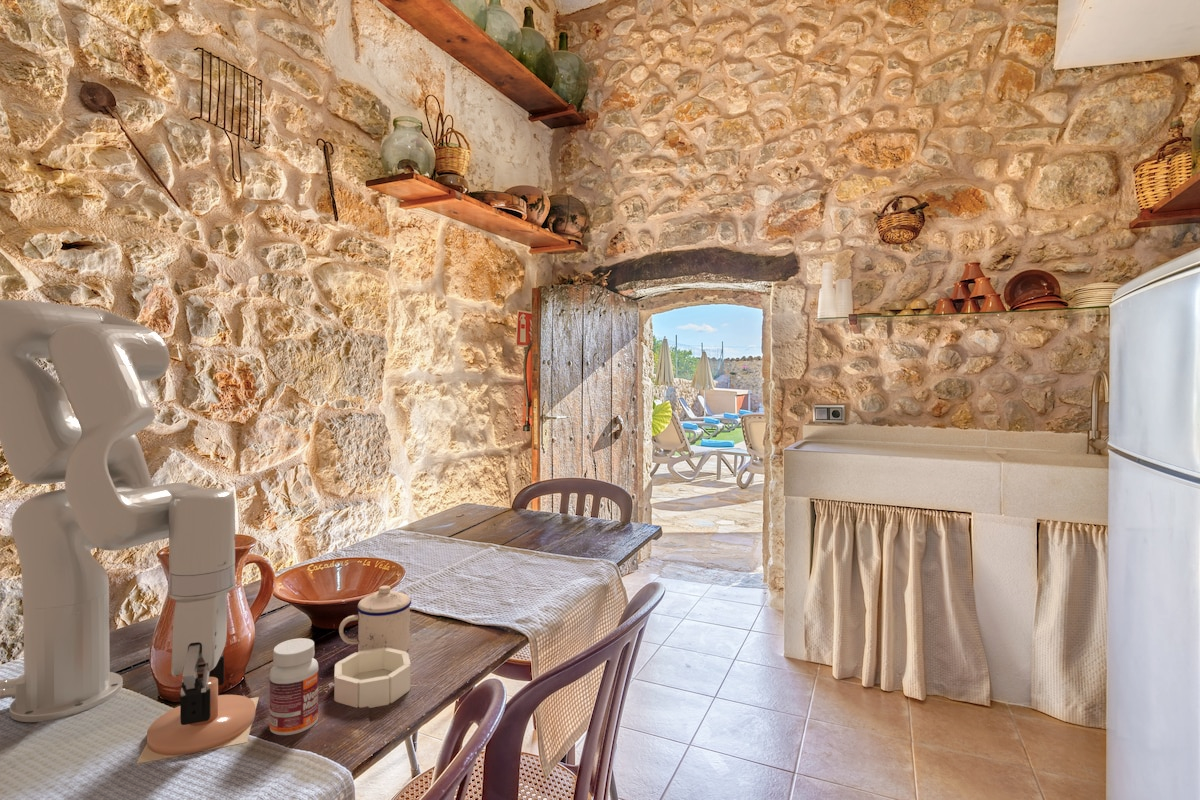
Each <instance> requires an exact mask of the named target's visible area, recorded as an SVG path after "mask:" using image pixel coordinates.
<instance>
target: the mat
mask: <svg viewBox="0 0 1200 800" xmlns="http://www.w3.org/2000/svg"><path fill="white" fill-rule="evenodd" d="M248 698H249V697H248ZM259 698H260V696H255V697H250V698H249V699H251V700H252V701H253V702H254V703H255V711H256V709H257V707H258V703H259ZM165 713H166V712H162V714H161V716H162V715H163V714H165ZM252 726H253V723H252V724H251V725H250V727H249V728H248V729H246V730H245V731H244V732H243V733H241V734H240V735H239V736H237V737H235V738H234V739H232V740H230V741H228V742H226V743H224V744H222V745H219V746H217V747H214V748H211V749H208V750H205V751H210V750H214V749H215V750H216V749H221V748H226V747H230V746H236V745H241V744H246V743H248V740H249V736H250V733H251V730H252V729H251V728H252ZM205 751H204V752H205ZM178 756H179V757H180V756H181V755H162V754H158V753H155V752H153V751H151V750H150V749H149V748H148V746H147V743H146V744H145V745H144V748H143V750H142V751H141V754H140V755H139V757H138V759H137V760H136V763H138V764H143V763H147V762H153V761H158V760H163V759H168V758H169V759H170V758H175V757H178ZM138 764H137V765H138Z"/></svg>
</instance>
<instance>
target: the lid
mask: <svg viewBox="0 0 1200 800" xmlns="http://www.w3.org/2000/svg"><path fill="white" fill-rule="evenodd" d="M200 680H201V682H202V678H200ZM207 689H210V702H211V716H210V719H209V720H208V721H203V722H198V723H192V724H187V725H182V724H181V718H180V705H178V706H176V707H174V708H172V709H170V710H167V711H166V712H164V713H165V714H163V713H162V714H163V715H162V714H161V715H160V716H159V717H158V718H156V719H155V720H154V721H153V722H152V723H151V725H149V727H148V729H147V731H146V744H147V746H148V748H149V749H150V750H151V751H153V752H155V753H158V754H162V755H180V756H183V755H191V754H196V753H201V752H205V750H206V751H209V750H208V749H211V748H214V747H217V746H219V745H222V744H224V743H226V742H228V741H230V740H232V739H234V738H235V737H237V736H239V735H240V734H241V733H243V732H244V731H245V730H246V729H248V728H249V727H250V725H251V724H252V725H253V723H254V721H255V718H256V710H255V703H254V702H253V701H252V700H251V699H249V697H247V696H245V695H239V694H238V695H237V694H219V685H218V679H217V678H216V677H209V680H208V688H207ZM252 725H251V726H252ZM211 750H212V749H211Z"/></svg>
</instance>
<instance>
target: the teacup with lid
mask: <svg viewBox="0 0 1200 800" xmlns="http://www.w3.org/2000/svg"><path fill="white" fill-rule="evenodd" d="M411 605H412V600H411V598H410V596H409V595H407V594H406V593H404V592H400V591H399V592H398V591H396V590H392V589H391V587H390V585H381V586H379V588H378V591H376V592H374V593H372V594H369V595H366V596H364V598H361V599H360V600H359V602H358V604H357V607H356V610H357V611H358V614H352V615H348V616H347V617H345V618H343V620H342V621H341V622H340V624H339V627H338V633H339V636H340V638H341V640H342V641H343V642H344V643H346V644H347V645H357V647H358V648H357V649H358V650H357V652H358V651H364V650H370V649H377V648H383V647H385V648H387V647H388V648H392V649H396V650H401V651H405V652H407V653H408V650H409V649H410V621H411V620H410V617H411V616H410V613H411V611H410V610H411V609H410V608H411V607H410V606H411ZM355 621H358V627H357V628H358V629H357V631H358V632H357V633H358V634H357V635H358V636H357V637H356V638H350V637H347V636H346V634H345V633H344V630H345V629H344V628H345V626H346V625H347V624H348V623H351V622H355Z"/></svg>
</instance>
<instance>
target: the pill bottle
mask: <svg viewBox="0 0 1200 800" xmlns="http://www.w3.org/2000/svg"><path fill="white" fill-rule="evenodd" d="M315 653H316V652H315V641H314V640H313V639H310V638H307V637H306V638H305V637H304V638H303V637H301V638H292V639H288V640H285V641H282V642H280V643H278V644H277V645H275V646H274V648H273V653H272V655H273V657H272V662H273V666H272V667H271V668H270V671H269V675H268V678H269V730H270V732H271V733H272V734H274V735H278V736H293V735H296V734H300V733H302V732H304V731H306V730H308V729H310V728H312V727H313V726H314V725H315V724H316V723H317V722H318V720H319V662H318V661H317V659H316V658H314V657H315V655H316V654H315Z"/></svg>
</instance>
